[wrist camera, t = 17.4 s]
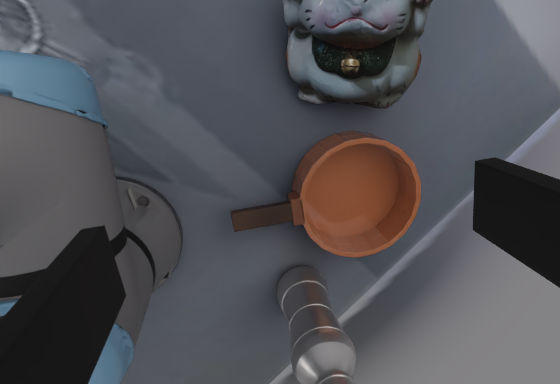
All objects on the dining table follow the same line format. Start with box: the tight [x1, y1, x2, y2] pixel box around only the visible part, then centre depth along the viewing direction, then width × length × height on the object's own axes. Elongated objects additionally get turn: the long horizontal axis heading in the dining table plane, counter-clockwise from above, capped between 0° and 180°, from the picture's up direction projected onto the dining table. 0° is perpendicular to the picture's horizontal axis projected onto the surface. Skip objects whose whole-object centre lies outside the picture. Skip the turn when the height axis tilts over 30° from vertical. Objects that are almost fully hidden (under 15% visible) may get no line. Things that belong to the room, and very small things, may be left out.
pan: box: [292, 131, 421, 257], centre depth 46 cm, size 14×14×5 cm
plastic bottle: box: [277, 266, 356, 384], centre depth 43 cm, size 6×7×20 cm
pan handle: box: [231, 192, 305, 232], centre depth 44 cm, size 8×3×3 cm, turn 98°
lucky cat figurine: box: [282, 0, 433, 108], centre depth 37 cm, size 15×12×14 cm
